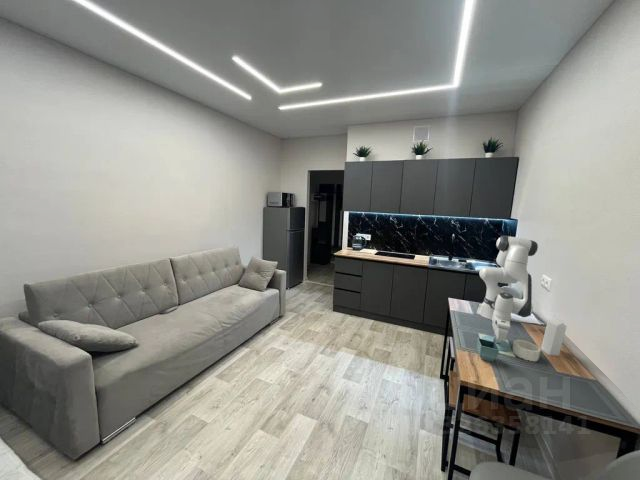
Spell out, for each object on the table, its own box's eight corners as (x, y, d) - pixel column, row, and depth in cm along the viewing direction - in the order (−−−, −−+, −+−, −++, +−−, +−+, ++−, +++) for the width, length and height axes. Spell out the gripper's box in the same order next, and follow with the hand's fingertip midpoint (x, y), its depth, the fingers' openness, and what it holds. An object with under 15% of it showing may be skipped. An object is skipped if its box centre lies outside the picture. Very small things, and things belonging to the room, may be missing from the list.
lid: (480, 334, 168) (481, 327, 167) (507, 341, 162) (509, 334, 161) (483, 346, 155) (484, 338, 154) (513, 354, 149) (515, 346, 148)
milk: (549, 349, 158) (558, 316, 154) (559, 355, 152) (568, 321, 148) (540, 349, 157) (548, 315, 154) (549, 355, 151) (558, 320, 148)
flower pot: (496, 365, 138) (499, 350, 137) (478, 360, 141) (481, 345, 140) (492, 356, 146) (495, 341, 145) (474, 351, 149) (477, 337, 148)
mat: (478, 333, 171) (478, 333, 171) (507, 341, 164) (507, 340, 164) (482, 349, 153) (483, 348, 153) (515, 357, 146) (515, 357, 146)
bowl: (510, 346, 158) (512, 337, 157) (534, 352, 153) (536, 343, 152) (515, 357, 147) (517, 347, 146) (541, 364, 142) (543, 354, 141)
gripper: (491, 311, 166) (487, 331, 169) (498, 325, 148) (493, 347, 150) (503, 314, 164) (499, 334, 166) (511, 328, 145) (506, 350, 148)
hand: (496, 340), depth 158 cm, fingers closed on lid, 3 cm apart
